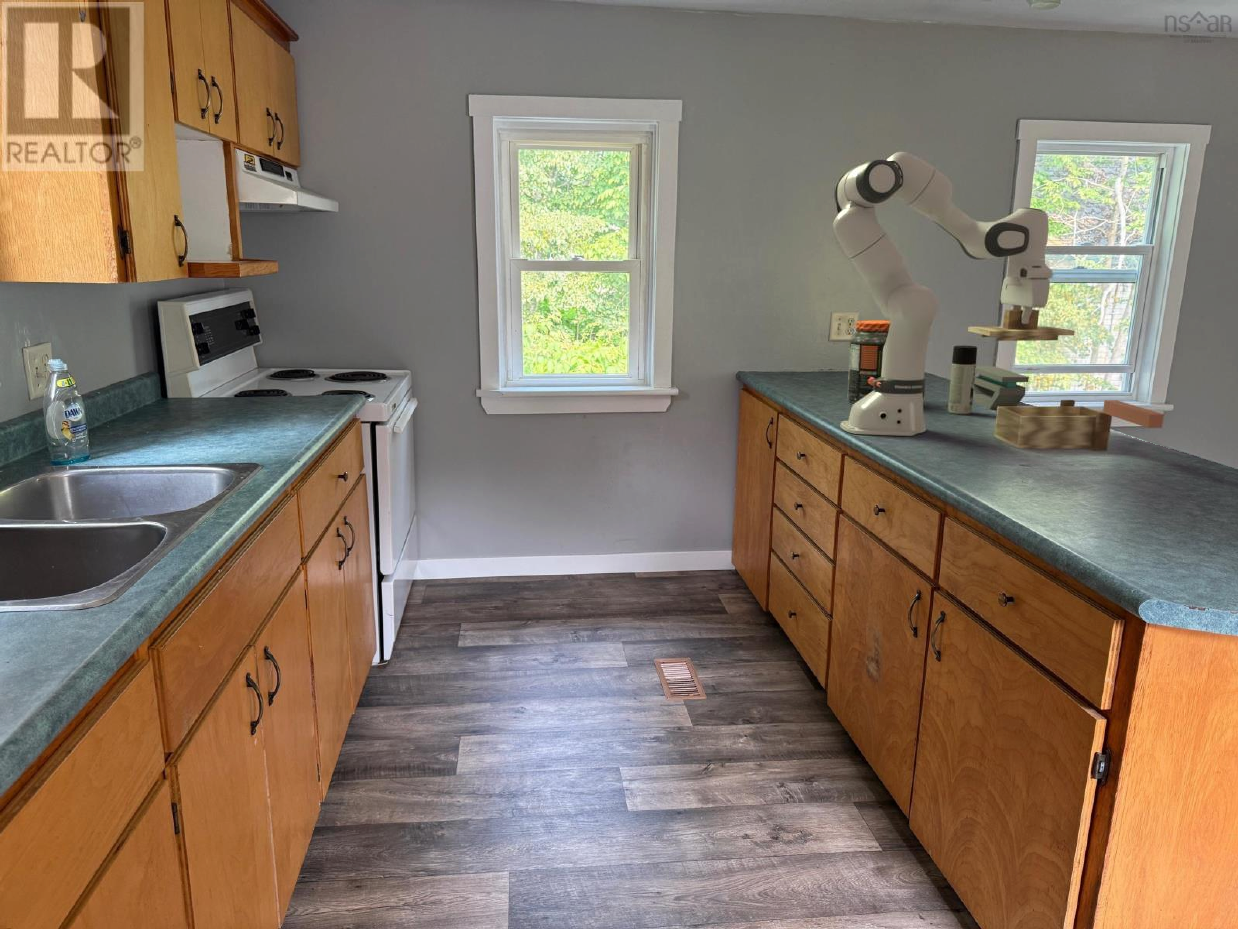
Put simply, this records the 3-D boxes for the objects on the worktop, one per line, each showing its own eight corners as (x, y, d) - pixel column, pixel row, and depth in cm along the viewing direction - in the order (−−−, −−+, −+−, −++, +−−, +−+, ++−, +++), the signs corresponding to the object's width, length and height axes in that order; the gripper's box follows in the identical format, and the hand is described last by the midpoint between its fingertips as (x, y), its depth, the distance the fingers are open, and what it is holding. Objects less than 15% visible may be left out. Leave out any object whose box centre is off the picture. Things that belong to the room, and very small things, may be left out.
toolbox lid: (989, 341, 225) (991, 312, 223) (967, 336, 239) (970, 308, 237) (1073, 340, 225) (1077, 311, 223) (1046, 335, 239) (1050, 308, 237)
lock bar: (1148, 427, 185) (1150, 414, 185) (1102, 412, 203) (1104, 400, 202) (1161, 427, 185) (1163, 414, 185) (1115, 412, 203) (1117, 400, 202)
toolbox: (1022, 450, 207) (1027, 413, 204) (990, 434, 225) (994, 400, 222) (1113, 450, 207) (1118, 412, 204) (1073, 434, 225) (1078, 399, 222)
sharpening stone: (1024, 413, 255) (1028, 377, 252) (998, 413, 255) (1002, 377, 252) (990, 399, 279) (993, 366, 276) (966, 399, 279) (969, 366, 276)
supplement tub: (891, 398, 281) (897, 319, 274) (902, 406, 266) (908, 323, 259) (842, 397, 282) (847, 319, 276) (850, 406, 267) (855, 323, 261)
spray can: (973, 415, 252) (980, 347, 247) (949, 414, 253) (955, 347, 248) (969, 411, 258) (975, 345, 253) (945, 410, 259) (951, 344, 254)
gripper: (997, 270, 238) (992, 319, 241) (1031, 271, 218) (1025, 325, 221) (1019, 269, 238) (1014, 319, 241) (1056, 271, 218) (1049, 325, 221)
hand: (1020, 322), depth 231 cm, fingers closed on toolbox lid, 3 cm apart
